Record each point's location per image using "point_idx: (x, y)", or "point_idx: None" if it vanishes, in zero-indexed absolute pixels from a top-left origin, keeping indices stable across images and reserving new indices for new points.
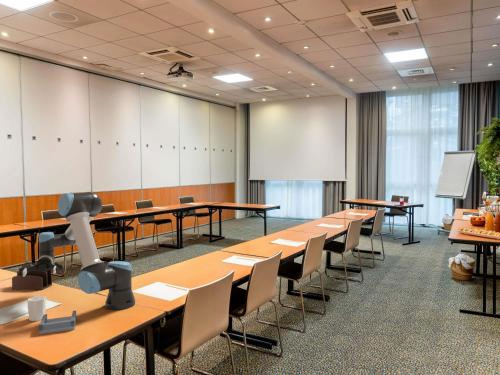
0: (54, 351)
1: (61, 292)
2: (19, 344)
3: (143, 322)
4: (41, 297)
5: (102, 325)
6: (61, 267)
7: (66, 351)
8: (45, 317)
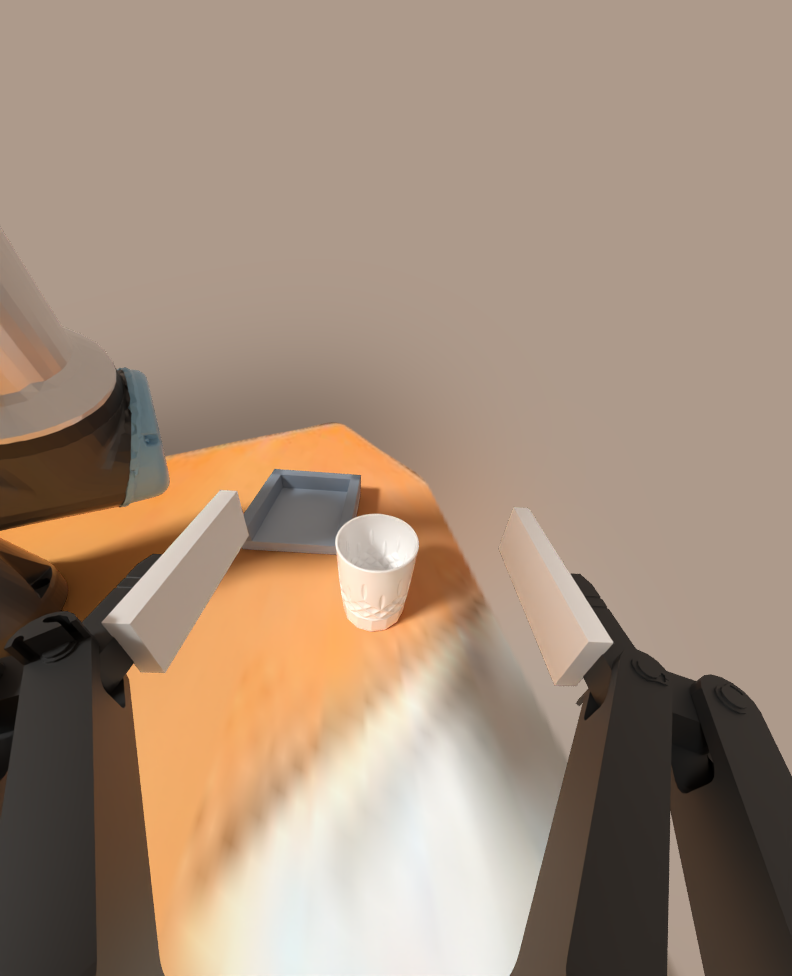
0: (334, 441)
1: None
2: (396, 473)
3: None
4: (356, 570)
5: (207, 485)
6: (5, 672)
7: (317, 436)
8: (343, 509)
